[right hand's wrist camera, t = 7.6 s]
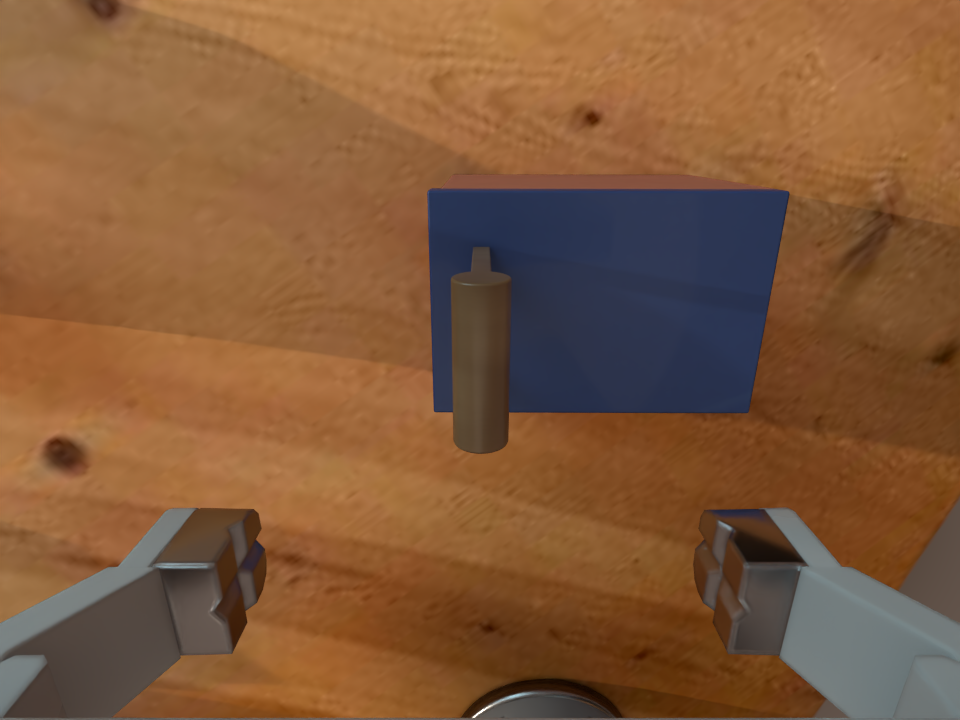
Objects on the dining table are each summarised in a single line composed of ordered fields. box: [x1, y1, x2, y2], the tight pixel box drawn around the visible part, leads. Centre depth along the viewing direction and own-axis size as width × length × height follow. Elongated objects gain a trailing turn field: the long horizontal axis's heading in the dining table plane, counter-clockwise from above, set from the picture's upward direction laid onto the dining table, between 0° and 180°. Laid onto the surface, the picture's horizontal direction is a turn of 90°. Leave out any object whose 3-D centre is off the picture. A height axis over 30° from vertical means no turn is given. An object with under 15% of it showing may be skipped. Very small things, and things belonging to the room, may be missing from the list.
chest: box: [442, 175, 772, 189], centre depth 31 cm, size 14×10×11 cm
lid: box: [427, 188, 789, 454], centre depth 22 cm, size 14×10×8 cm
